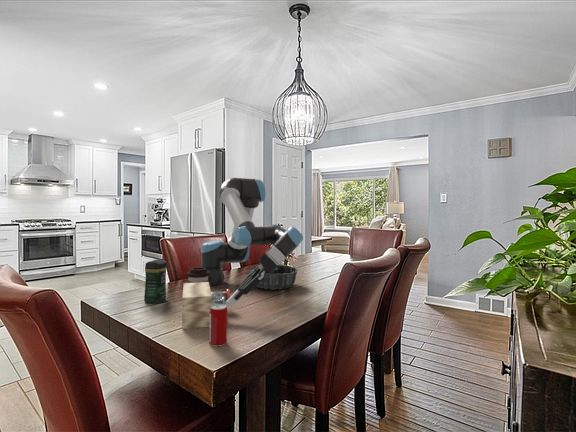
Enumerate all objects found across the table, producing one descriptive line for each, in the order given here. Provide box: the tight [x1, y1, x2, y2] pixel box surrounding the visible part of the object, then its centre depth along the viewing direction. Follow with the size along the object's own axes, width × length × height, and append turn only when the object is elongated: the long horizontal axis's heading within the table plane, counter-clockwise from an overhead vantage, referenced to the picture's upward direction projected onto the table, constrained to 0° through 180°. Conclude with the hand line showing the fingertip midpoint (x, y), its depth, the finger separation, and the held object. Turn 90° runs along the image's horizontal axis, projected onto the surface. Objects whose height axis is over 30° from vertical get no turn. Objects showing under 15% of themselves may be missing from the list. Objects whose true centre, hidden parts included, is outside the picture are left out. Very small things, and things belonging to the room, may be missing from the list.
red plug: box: [211, 288, 231, 301], centre depth 130 cm, size 12×6×6 cm, turn 107°
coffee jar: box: [143, 258, 168, 304], centre depth 142 cm, size 10×8×19 cm
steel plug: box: [212, 297, 227, 306], centre depth 118 cm, size 12×6×6 cm, turn 107°
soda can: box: [208, 304, 229, 348], centre depth 99 cm, size 6×6×12 cm
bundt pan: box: [249, 264, 299, 291], centre depth 173 cm, size 26×26×10 cm
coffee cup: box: [186, 266, 210, 283], centre depth 142 cm, size 10×10×15 cm
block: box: [181, 282, 212, 330], centre depth 122 cm, size 10×22×11 cm, turn 17°
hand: (228, 304), depth 120 cm, fingers closed
